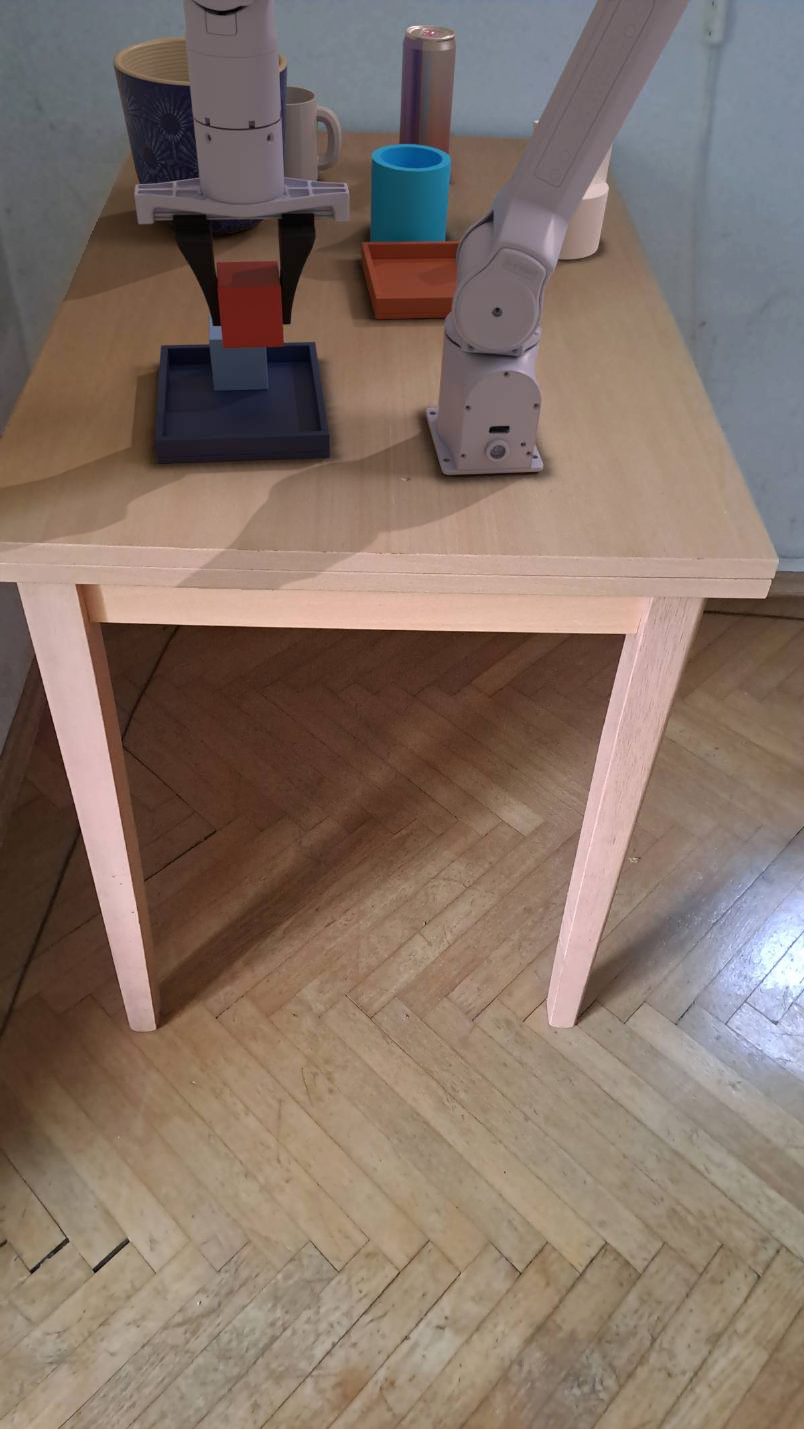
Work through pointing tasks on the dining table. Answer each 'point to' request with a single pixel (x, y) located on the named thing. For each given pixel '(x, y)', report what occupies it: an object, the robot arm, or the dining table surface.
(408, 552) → the dining table surface
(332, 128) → the cup
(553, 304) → the dining table surface
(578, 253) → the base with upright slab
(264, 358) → the blue block
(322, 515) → the dining table surface
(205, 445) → the blue tray
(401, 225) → the mug
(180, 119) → the planter
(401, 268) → the tray
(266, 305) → the red block
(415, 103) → the beverage can
